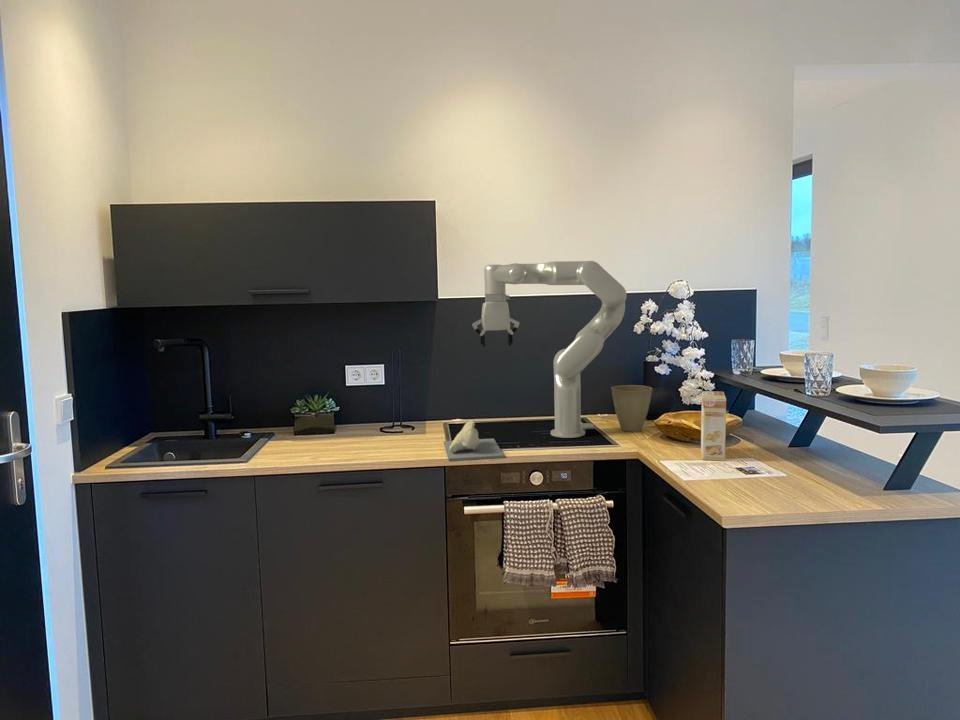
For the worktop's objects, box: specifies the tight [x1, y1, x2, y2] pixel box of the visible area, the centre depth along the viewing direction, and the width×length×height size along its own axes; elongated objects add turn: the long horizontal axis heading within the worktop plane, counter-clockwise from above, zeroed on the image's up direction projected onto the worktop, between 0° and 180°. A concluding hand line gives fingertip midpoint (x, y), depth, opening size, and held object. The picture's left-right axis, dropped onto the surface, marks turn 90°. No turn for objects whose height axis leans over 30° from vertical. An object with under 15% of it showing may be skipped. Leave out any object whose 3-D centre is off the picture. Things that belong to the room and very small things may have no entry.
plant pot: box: [610, 384, 653, 433], centre depth 259 cm, size 15×15×16 cm
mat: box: [443, 438, 505, 462], centre depth 236 cm, size 18×24×1 cm
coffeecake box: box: [700, 390, 727, 462], centre depth 221 cm, size 15×7×20 cm, turn 164°
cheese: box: [449, 419, 480, 453], centre depth 234 cm, size 15×7×15 cm
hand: (496, 345), depth 253 cm, fingers open, 9 cm apart
